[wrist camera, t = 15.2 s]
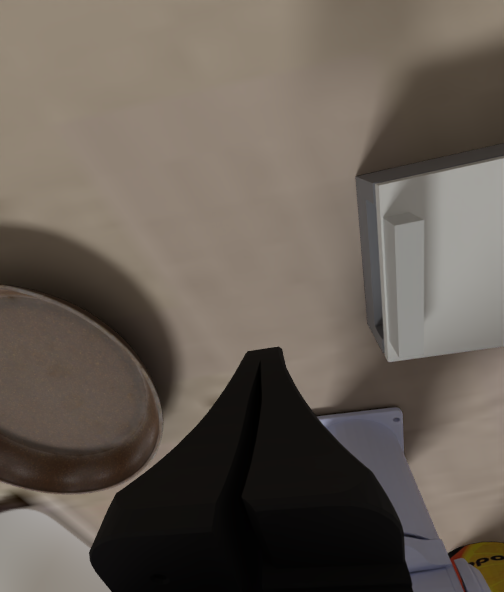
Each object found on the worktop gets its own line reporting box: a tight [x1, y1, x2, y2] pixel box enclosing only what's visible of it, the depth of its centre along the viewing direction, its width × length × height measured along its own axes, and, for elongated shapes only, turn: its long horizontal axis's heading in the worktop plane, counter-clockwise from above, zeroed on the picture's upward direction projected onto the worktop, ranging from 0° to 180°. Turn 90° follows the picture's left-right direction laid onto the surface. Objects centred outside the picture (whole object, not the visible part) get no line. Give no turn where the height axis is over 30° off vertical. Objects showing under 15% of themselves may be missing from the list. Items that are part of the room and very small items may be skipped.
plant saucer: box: [0, 284, 163, 494], centre depth 25 cm, size 21×21×3 cm
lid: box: [375, 156, 504, 362], centre depth 15 cm, size 10×10×2 cm
